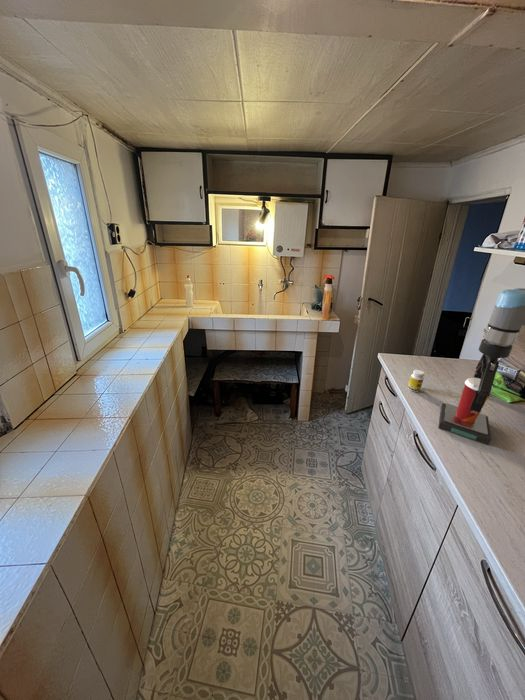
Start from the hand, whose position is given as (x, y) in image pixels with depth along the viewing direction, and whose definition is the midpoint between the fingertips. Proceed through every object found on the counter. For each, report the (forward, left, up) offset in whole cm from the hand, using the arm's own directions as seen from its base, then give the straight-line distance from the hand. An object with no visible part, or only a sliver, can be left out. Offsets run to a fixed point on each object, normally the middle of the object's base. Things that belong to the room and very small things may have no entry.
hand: (474, 400), depth 94 cm
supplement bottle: (+18, -15, -11) cm, 26 cm away
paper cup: (0, 0, -7) cm, 7 cm away
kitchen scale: (0, 0, -11) cm, 11 cm away
